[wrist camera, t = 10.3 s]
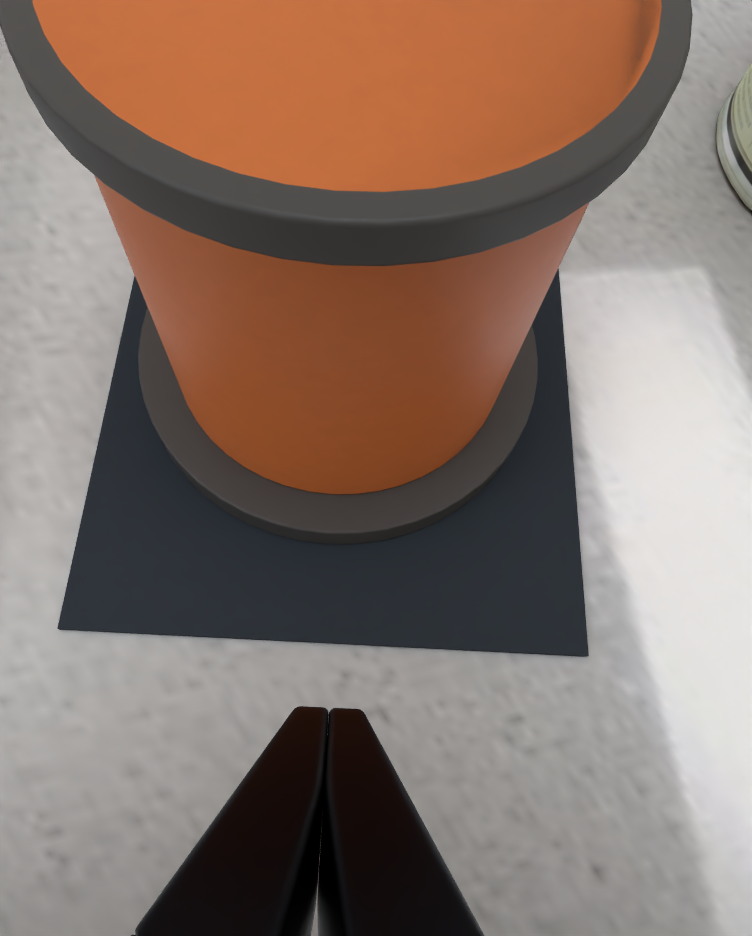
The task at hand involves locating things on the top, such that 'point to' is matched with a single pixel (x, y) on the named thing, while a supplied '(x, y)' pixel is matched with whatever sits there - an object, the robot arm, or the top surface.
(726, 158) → the coffee can
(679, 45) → the spool
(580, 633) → the mat
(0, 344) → the top surface
